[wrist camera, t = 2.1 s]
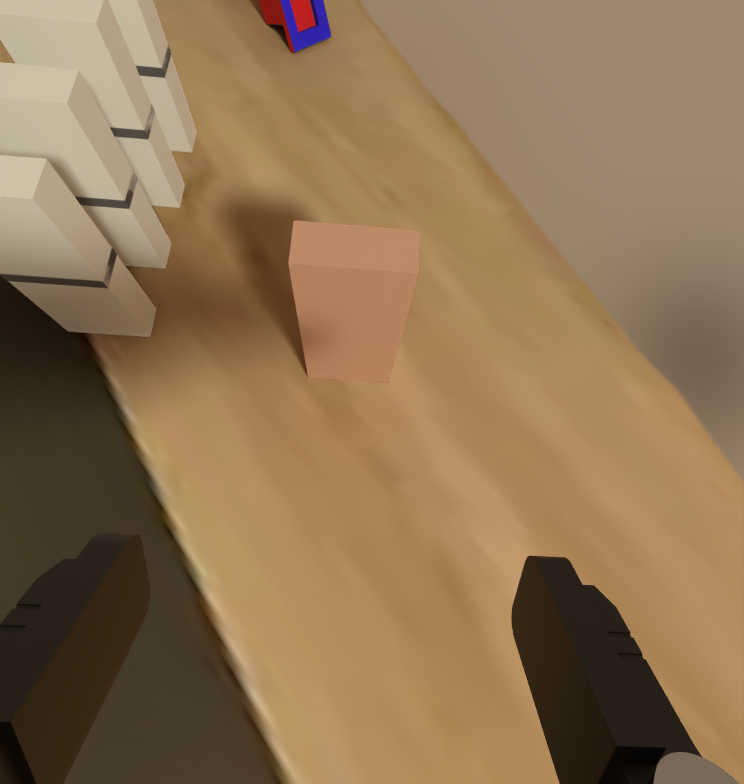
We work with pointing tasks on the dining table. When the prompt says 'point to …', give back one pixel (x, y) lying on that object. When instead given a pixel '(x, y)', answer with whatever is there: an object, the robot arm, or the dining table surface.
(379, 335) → the domino
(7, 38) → the domino
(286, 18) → the blue red-paneled block
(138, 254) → the domino
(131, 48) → the domino
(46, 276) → the domino
